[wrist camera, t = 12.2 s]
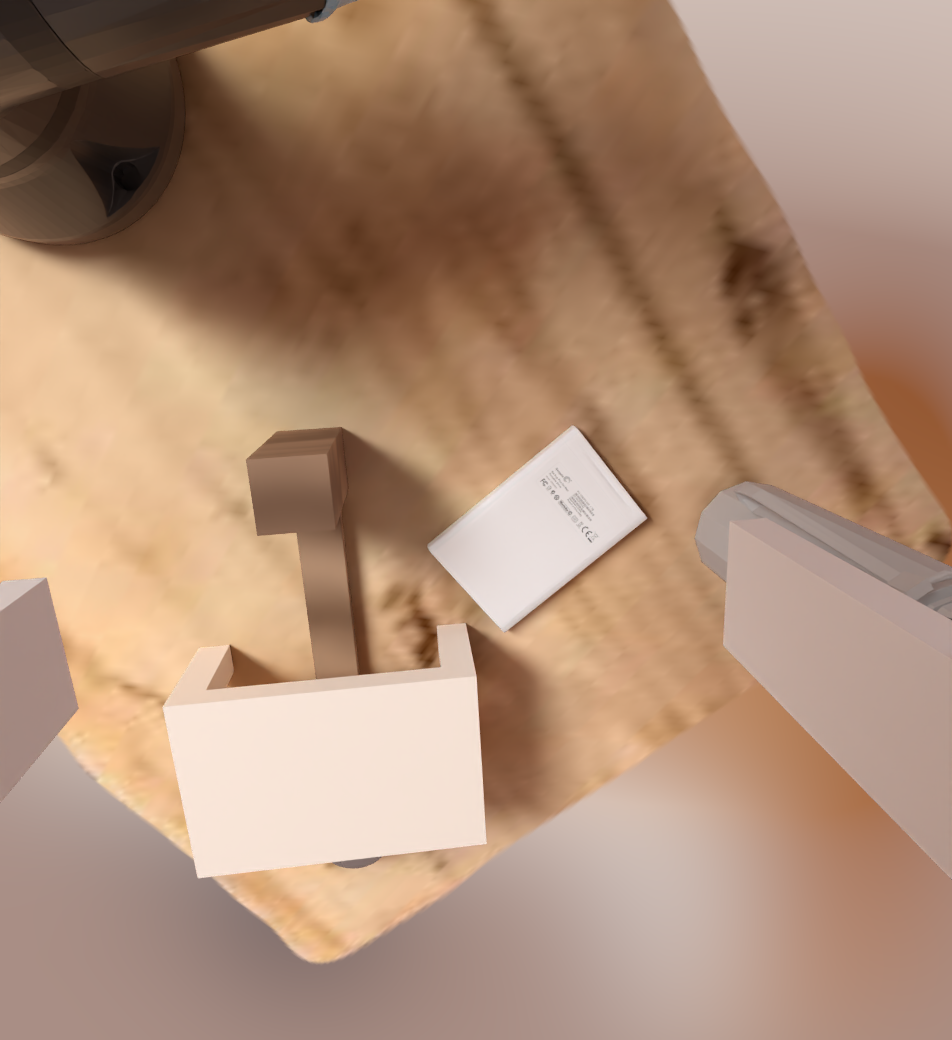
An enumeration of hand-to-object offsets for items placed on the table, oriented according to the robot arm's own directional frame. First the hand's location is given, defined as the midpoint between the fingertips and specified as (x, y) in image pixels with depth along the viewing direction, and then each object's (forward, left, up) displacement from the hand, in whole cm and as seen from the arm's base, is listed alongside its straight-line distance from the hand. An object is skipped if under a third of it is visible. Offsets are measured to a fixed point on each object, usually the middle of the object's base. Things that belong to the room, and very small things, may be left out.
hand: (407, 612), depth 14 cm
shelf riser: (+21, -6, -32) cm, 38 cm away
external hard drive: (+9, +8, -32) cm, 35 cm away
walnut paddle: (+11, -6, -32) cm, 34 cm away
